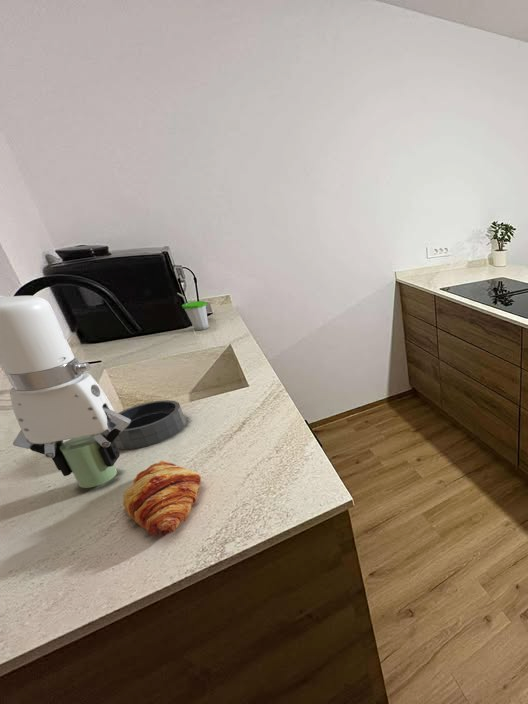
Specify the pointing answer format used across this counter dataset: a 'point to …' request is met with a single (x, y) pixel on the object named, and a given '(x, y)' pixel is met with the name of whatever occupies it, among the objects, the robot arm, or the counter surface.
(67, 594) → the counter surface
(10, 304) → the robot arm
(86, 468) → the mint green cylinder
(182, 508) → the croissant
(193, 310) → the cup
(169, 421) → the basin
